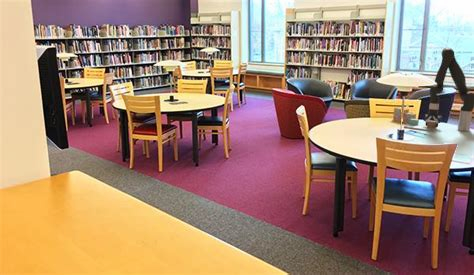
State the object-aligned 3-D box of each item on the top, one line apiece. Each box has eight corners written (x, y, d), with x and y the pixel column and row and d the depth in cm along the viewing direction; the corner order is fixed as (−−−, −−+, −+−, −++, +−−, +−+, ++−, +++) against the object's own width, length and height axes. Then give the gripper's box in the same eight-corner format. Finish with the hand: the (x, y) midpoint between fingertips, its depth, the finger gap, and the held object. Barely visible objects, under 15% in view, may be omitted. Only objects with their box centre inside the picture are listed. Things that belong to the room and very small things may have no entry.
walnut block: (428, 127, 370) (429, 120, 368) (435, 128, 366) (436, 121, 365) (426, 128, 365) (427, 121, 364) (434, 129, 362) (434, 122, 360)
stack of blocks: (415, 123, 384) (416, 110, 381) (410, 124, 381) (411, 111, 378) (397, 119, 403) (398, 107, 400) (392, 120, 400) (394, 107, 397)
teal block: (411, 124, 379) (411, 118, 377) (418, 125, 375) (418, 119, 374) (409, 125, 374) (410, 119, 373) (416, 126, 371) (417, 120, 369)
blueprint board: (407, 125, 374) (408, 124, 374) (436, 129, 360) (436, 127, 359) (403, 127, 365) (403, 126, 364) (432, 131, 350) (433, 130, 350)
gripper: (443, 108, 360) (441, 127, 364) (426, 107, 368) (423, 125, 372) (441, 109, 354) (439, 128, 358) (424, 108, 363) (421, 126, 366)
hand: (431, 126), depth 365 cm, fingers open, 7 cm apart
